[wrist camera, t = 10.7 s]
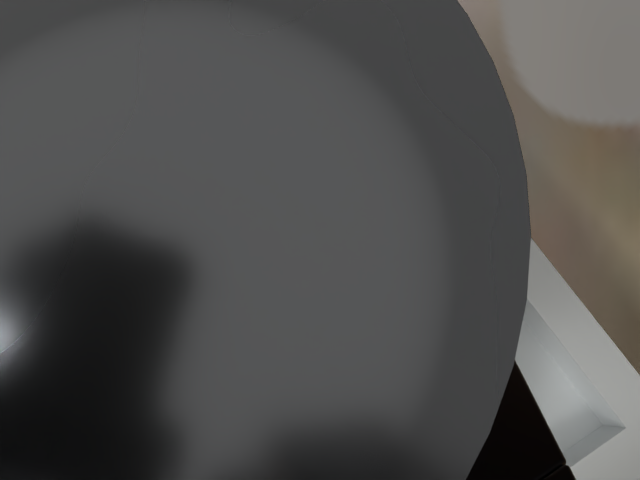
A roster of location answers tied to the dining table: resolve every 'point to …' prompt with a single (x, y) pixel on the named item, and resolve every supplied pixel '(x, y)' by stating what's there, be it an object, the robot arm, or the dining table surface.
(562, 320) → the tray
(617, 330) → the dining table surface
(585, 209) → the dining table surface
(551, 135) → the dining table surface
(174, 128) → the steel stop
